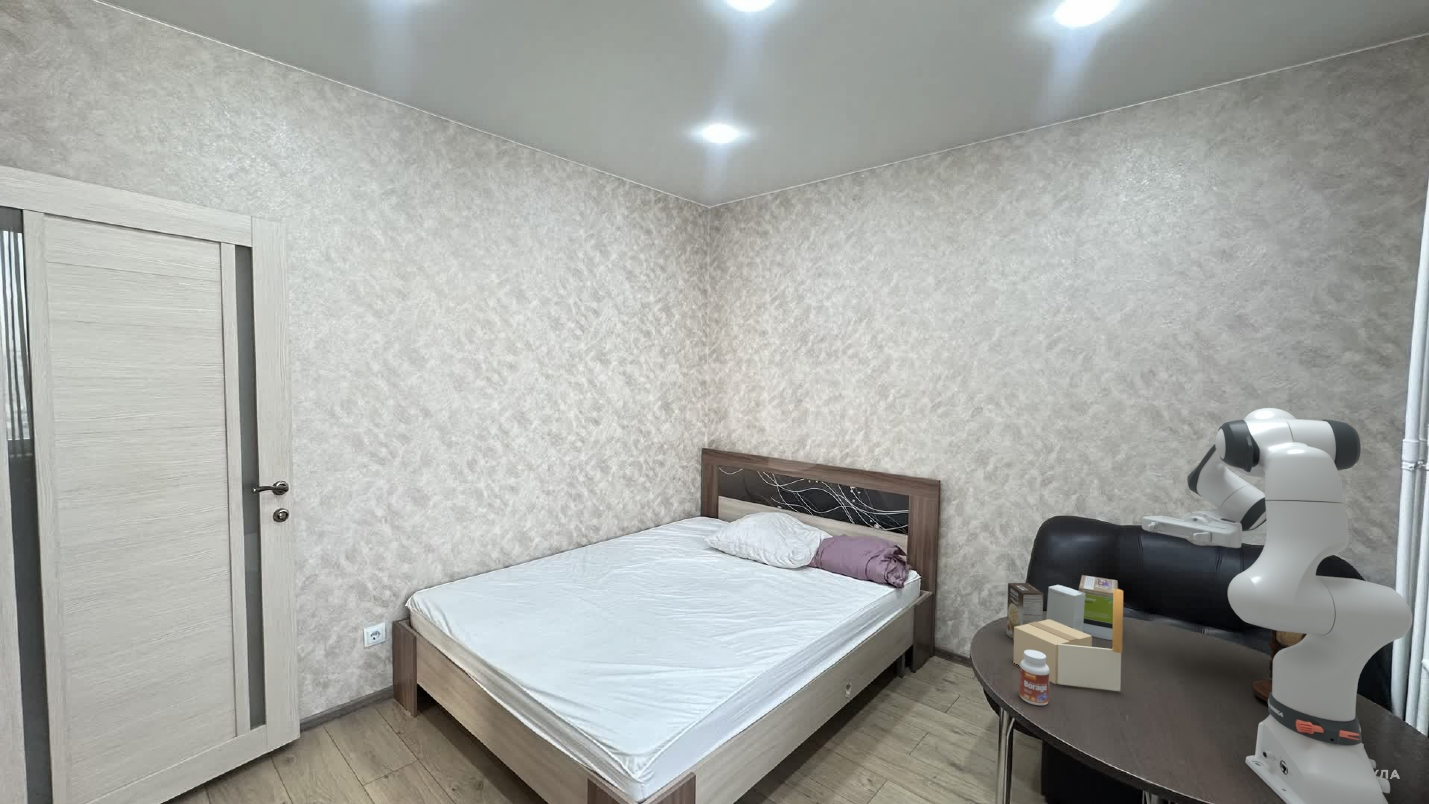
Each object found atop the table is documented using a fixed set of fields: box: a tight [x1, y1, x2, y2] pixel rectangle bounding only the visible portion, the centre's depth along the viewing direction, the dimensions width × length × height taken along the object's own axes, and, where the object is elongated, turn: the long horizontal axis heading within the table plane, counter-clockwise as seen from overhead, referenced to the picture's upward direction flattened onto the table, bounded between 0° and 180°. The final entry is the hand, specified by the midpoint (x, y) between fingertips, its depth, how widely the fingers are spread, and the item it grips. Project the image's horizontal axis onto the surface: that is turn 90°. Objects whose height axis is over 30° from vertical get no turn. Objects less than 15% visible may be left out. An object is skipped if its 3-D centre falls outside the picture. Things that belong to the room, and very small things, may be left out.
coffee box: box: [1006, 582, 1044, 641], centre depth 170 cm, size 9×6×16 cm
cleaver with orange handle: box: [1057, 588, 1124, 692], centre depth 142 cm, size 2×14×25 cm, turn 76°
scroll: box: [1251, 629, 1307, 703], centre depth 135 cm, size 15×15×20 cm
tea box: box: [1078, 574, 1119, 641], centre depth 178 cm, size 15×10×15 cm, turn 144°
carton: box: [1013, 619, 1093, 685], centre depth 153 cm, size 12×14×10 cm
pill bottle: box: [1019, 650, 1050, 706], centre depth 137 cm, size 6×6×11 cm
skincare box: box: [1045, 584, 1085, 632], centre depth 172 cm, size 8×6×15 cm
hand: (1170, 532), depth 147 cm, fingers open, 8 cm apart
